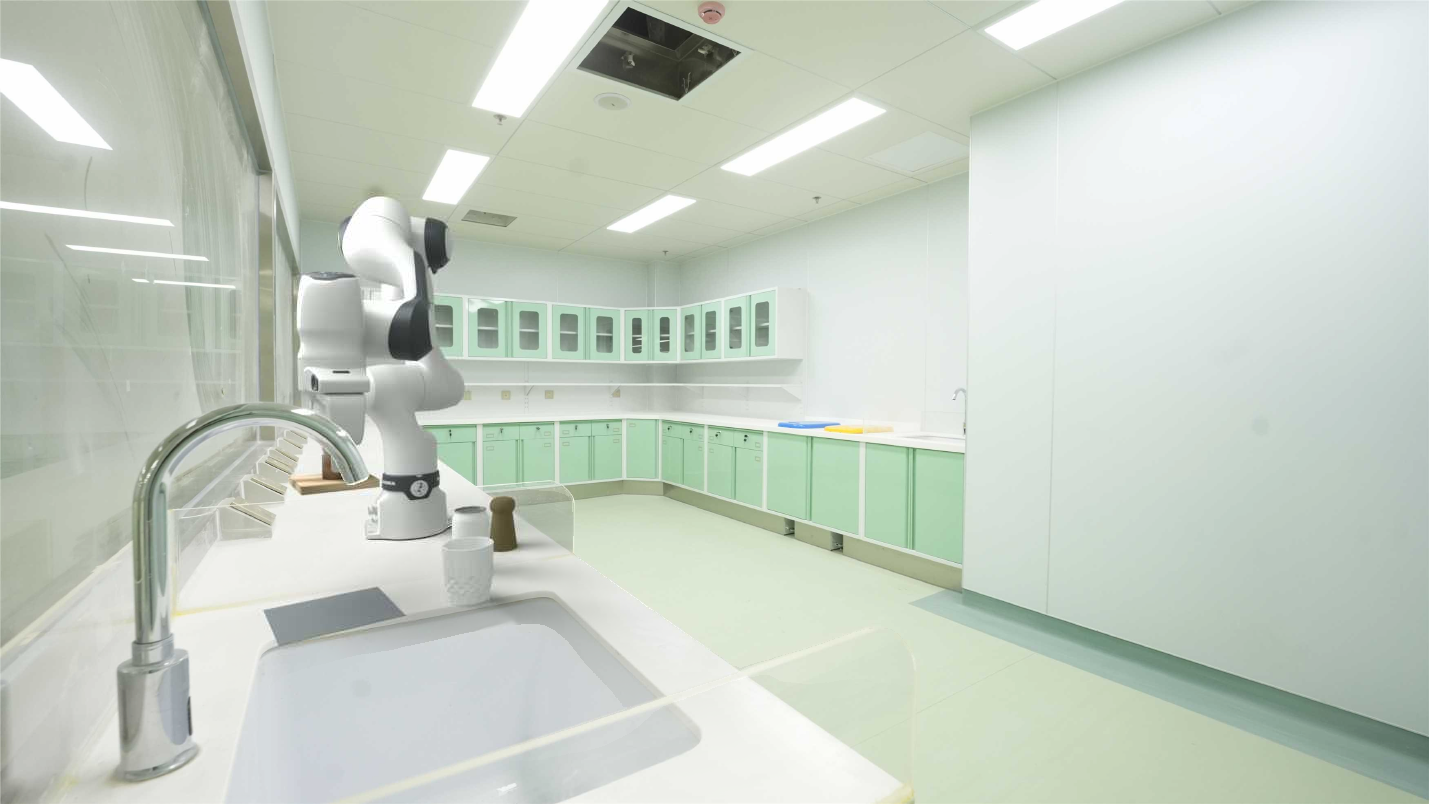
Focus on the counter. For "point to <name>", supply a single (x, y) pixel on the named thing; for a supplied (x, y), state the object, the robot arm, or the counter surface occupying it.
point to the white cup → (468, 570)
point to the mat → (330, 615)
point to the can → (470, 522)
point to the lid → (328, 481)
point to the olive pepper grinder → (503, 524)
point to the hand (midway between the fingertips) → (334, 469)
